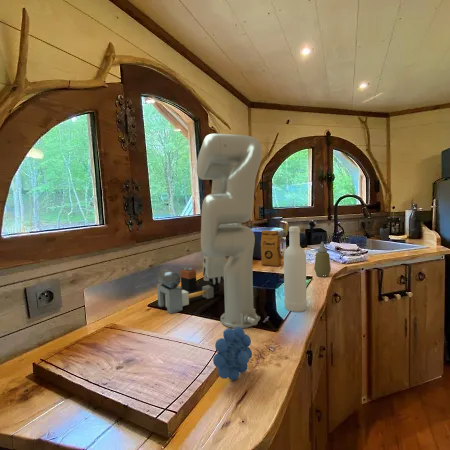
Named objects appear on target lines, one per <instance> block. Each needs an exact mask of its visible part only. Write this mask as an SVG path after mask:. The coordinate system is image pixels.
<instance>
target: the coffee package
mask: <svg viewBox="0 0 450 450" xmlns="http://www.w3.org/2000/svg"><path fill="white" fill-rule="evenodd" d="M260 237H261V239H260V256H261V259H260V260H261V261H260V263H261V264H260V265H263V266H270V267H280V266H282V253H281V252H282V251H281V242H280V235H279V231H278V230H261V236H260Z"/></svg>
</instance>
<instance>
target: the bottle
mask: <svg viewBox="0 0 450 450" xmlns="http://www.w3.org/2000/svg"><path fill="white" fill-rule="evenodd" d="M300 229H301V228H300V226H297V225H296V226H289V228H288V232H289V233H288V234H289V235H288V236H289V237H288V240H289V244H288V245H289V246H287V248H286V249H284V253H283V274H284V276H283V282H284V283H283V284H284V285H283V286H284V287H283V289H284V292H283V293H284V300H283V302H284V303H283V304H284V308H285V309H286V310H287V311H288V312H289V311H290V312H294V313H300V312H305V311H306V310H307V304H308V303H307V302H308V300H307V254H306V251H305V249H303V247H301V245H300V244H301V243H300V242H301V239H300V238H301V237H300V234H301V230H300Z"/></svg>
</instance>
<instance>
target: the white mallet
mask: <svg viewBox="0 0 450 450" xmlns="http://www.w3.org/2000/svg"><path fill="white" fill-rule="evenodd" d="M201 289H202V290H199V291H195V292H193V293H189V291H188V290H185V289H182V307H185V306H188V305H190V299H191V298H195V297H199V296H202V297H203V298H205V299H207V300H209V299H212V298H213V299H214V296H215V293H214V290H213V287H212V286H211V285H210V284H206V285H204V286H202V287H201ZM165 301H166V306H165V308H167V295H166V294H165Z"/></svg>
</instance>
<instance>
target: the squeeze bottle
mask: <svg viewBox="0 0 450 450" xmlns="http://www.w3.org/2000/svg"><path fill="white" fill-rule="evenodd" d="M330 259H331V258H330V253H328V248H326V246H325V243H324V241H321V242H320V245H319V247H318V248H317V252H316V253H315V259H314V268H313V269H314V272H315V274H316V276H317V277H319V278H320V277H321V278H329V275H330V272H331V270H332V269H331V268H332V267H331V260H330ZM323 275H324V276H323ZM325 275H326V276H325Z"/></svg>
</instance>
